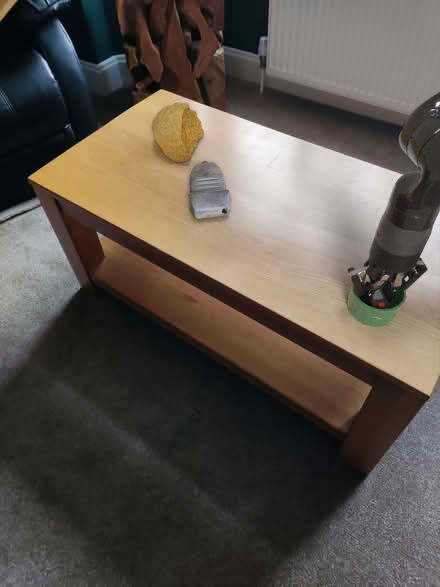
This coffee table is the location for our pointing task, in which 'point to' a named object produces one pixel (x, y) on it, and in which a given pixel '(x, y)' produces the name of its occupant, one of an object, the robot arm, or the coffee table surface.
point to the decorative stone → (177, 131)
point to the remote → (379, 300)
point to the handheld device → (208, 191)
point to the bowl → (374, 315)
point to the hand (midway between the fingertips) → (374, 302)
